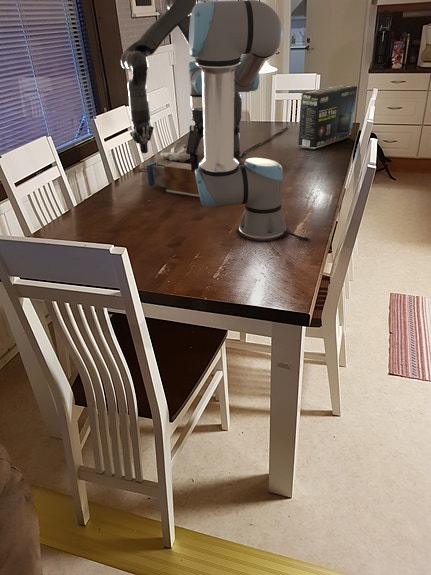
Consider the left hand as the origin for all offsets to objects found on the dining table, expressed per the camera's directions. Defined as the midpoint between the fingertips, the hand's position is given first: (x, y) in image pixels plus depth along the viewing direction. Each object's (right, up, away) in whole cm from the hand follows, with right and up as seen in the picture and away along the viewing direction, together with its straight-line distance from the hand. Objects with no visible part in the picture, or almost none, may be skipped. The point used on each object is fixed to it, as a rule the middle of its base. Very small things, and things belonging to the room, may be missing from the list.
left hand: (144, 152), depth 188 cm
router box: (+88, +22, +57) cm, 107 cm away
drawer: (+8, -13, +3) cm, 16 cm away
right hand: (+25, -9, -11) cm, 29 cm away
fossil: (+10, +10, +42) cm, 44 cm away
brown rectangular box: (+19, -17, -2) cm, 26 cm away
